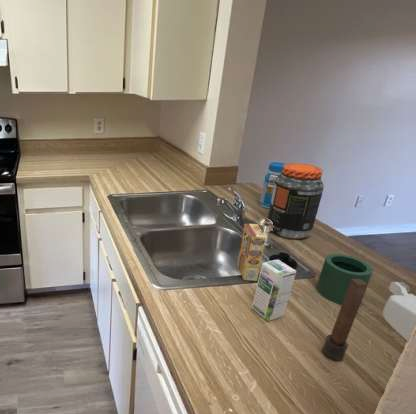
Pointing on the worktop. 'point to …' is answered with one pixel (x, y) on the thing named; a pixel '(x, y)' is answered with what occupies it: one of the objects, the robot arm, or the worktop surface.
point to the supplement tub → (296, 200)
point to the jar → (341, 275)
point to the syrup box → (273, 289)
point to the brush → (344, 321)
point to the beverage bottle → (270, 183)
